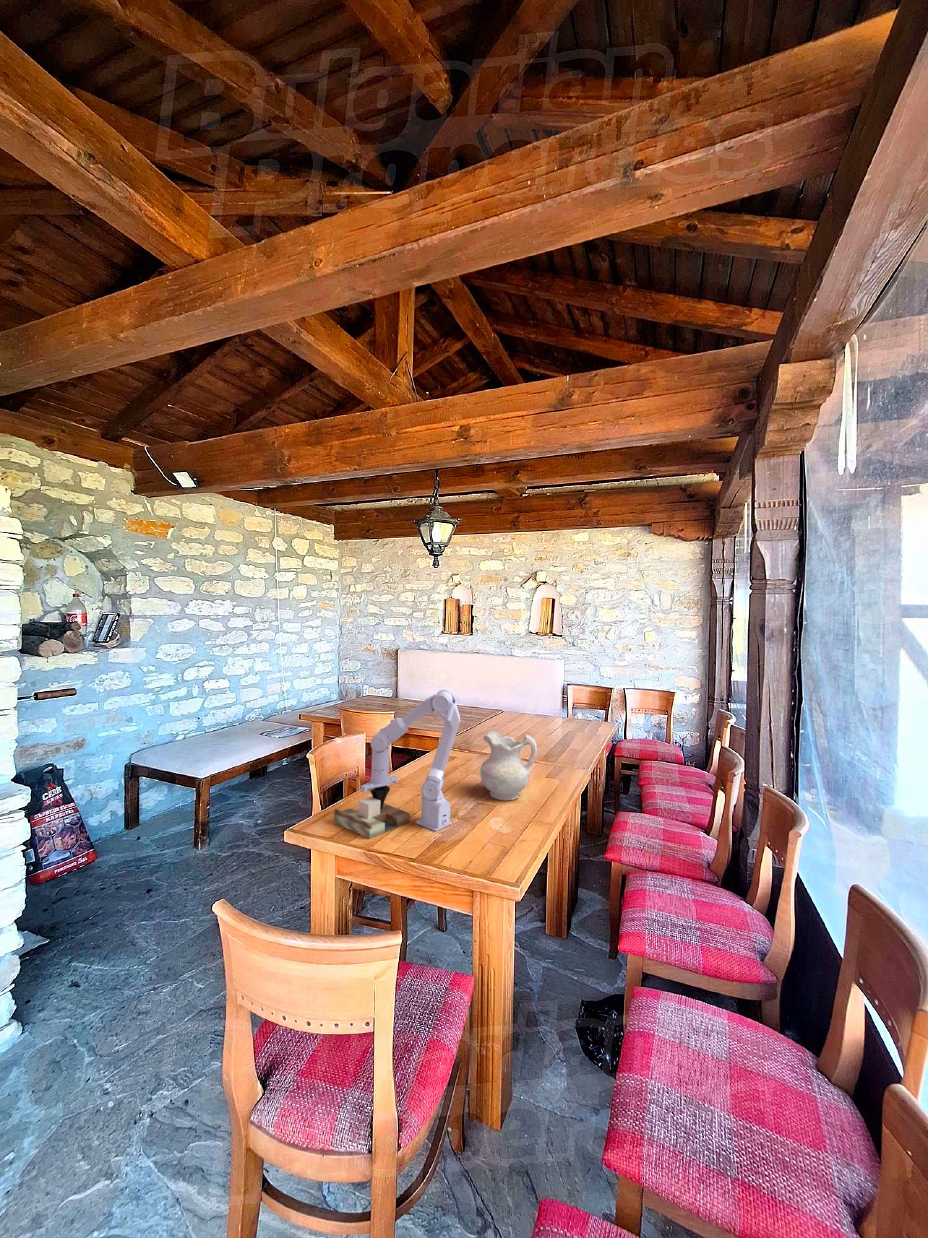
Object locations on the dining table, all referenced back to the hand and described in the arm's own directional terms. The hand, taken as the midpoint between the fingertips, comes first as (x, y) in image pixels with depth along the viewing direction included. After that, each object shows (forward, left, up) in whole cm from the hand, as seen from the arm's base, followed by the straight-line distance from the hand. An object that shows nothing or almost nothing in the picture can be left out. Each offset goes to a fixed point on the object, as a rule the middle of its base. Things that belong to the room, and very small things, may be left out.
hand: (379, 808), depth 164 cm
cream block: (0, +4, -1) cm, 4 cm away
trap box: (0, +3, -4) cm, 5 cm away
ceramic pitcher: (-19, -49, -4) cm, 53 cm away
